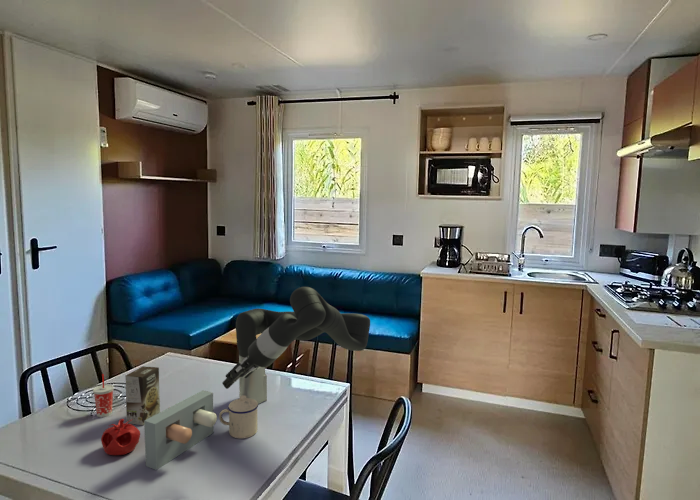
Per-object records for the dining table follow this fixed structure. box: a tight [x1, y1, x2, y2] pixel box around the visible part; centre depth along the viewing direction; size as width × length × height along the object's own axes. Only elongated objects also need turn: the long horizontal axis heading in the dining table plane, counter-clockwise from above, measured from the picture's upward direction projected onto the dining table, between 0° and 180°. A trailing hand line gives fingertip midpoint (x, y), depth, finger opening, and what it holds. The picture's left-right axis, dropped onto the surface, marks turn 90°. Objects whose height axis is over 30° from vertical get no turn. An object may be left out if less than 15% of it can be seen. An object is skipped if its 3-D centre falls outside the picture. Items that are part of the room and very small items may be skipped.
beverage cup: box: [92, 373, 115, 418], centre depth 150 cm, size 6×6×14 cm
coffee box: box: [125, 365, 161, 426], centre depth 148 cm, size 9×6×16 cm
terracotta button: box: [166, 423, 192, 444], centre depth 125 cm, size 7×4×4 cm, turn 65°
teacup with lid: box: [218, 395, 259, 439], centre depth 141 cm, size 12×9×12 cm
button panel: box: [143, 389, 215, 471], centre depth 131 cm, size 4×22×13 cm, turn 155°
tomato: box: [100, 418, 141, 456], centre depth 130 cm, size 10×10×9 cm
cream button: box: [193, 409, 218, 427], centre depth 134 cm, size 7×4×4 cm, turn 65°
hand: (234, 380), depth 125 cm, fingers open, 7 cm apart
